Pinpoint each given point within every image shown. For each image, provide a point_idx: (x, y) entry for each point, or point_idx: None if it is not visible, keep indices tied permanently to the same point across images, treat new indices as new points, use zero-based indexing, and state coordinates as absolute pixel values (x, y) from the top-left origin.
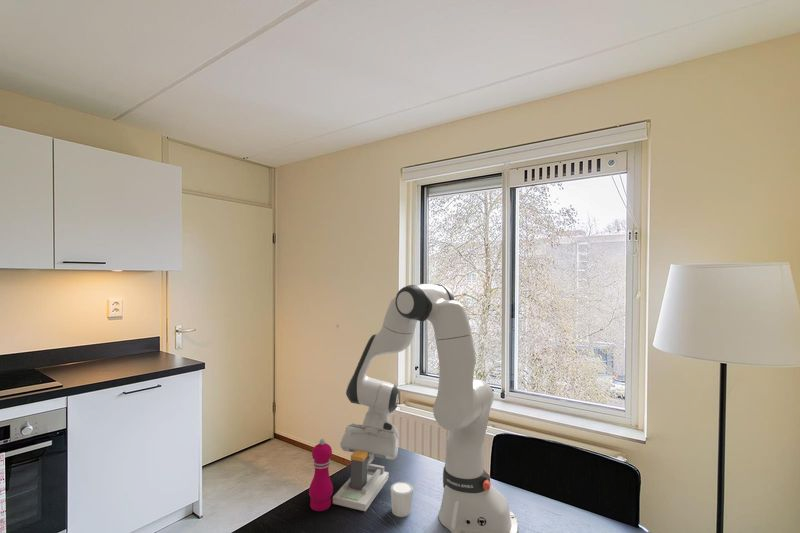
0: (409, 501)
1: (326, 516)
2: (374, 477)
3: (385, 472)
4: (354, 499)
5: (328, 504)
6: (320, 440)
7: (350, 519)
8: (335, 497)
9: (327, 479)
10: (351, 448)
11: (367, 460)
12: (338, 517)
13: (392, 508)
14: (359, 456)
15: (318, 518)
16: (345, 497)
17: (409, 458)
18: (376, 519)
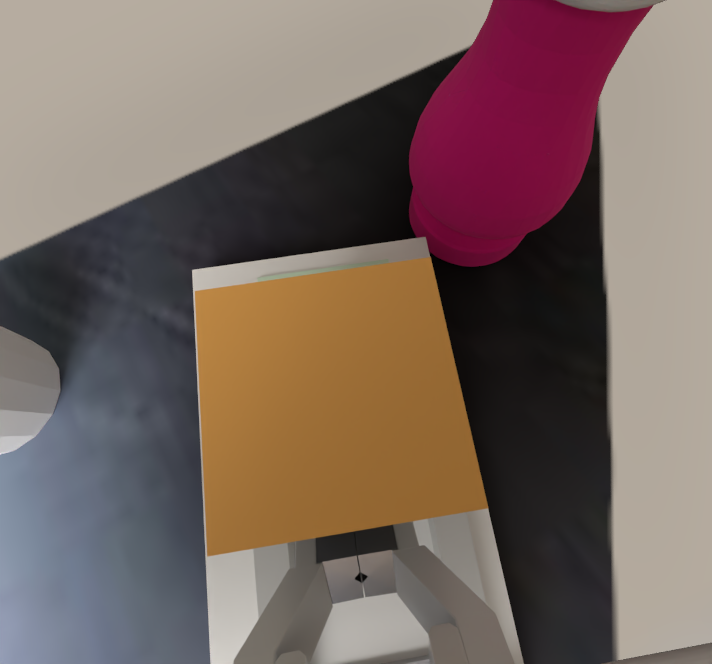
0: None
1: (373, 162)
2: (258, 570)
3: None
4: (283, 276)
5: (411, 197)
6: None
7: (249, 197)
8: (407, 240)
9: (463, 78)
10: (695, 650)
11: (300, 584)
12: (314, 182)
13: (26, 340)
14: (275, 306)
15: (398, 134)
16: (348, 265)
17: None
18: (119, 259)
